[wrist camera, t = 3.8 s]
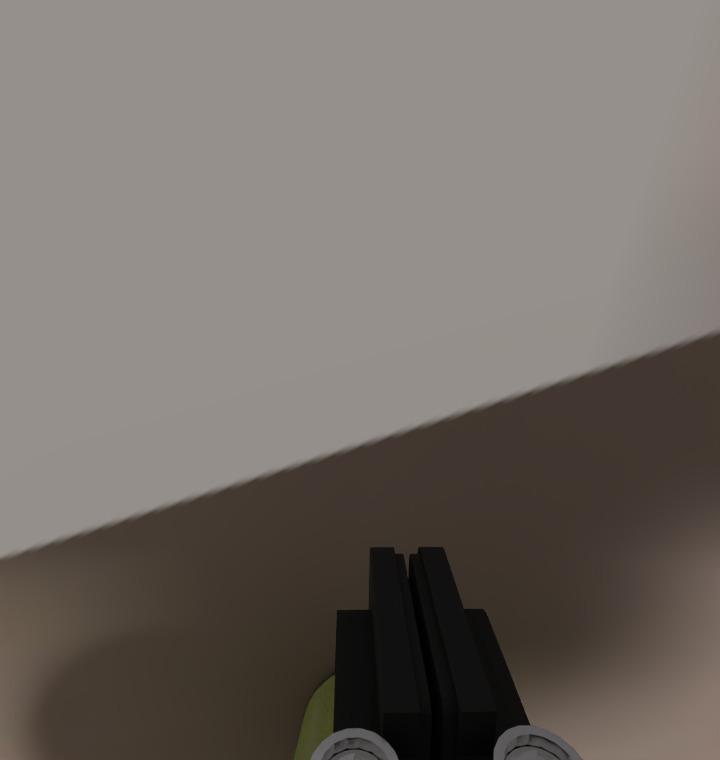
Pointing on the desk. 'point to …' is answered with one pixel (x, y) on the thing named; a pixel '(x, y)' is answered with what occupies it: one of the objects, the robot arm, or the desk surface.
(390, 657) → the robot arm
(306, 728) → the plant pot
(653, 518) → the desk surface
